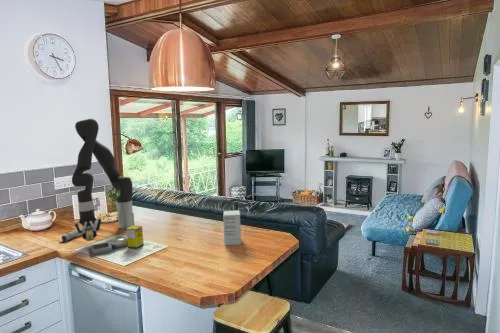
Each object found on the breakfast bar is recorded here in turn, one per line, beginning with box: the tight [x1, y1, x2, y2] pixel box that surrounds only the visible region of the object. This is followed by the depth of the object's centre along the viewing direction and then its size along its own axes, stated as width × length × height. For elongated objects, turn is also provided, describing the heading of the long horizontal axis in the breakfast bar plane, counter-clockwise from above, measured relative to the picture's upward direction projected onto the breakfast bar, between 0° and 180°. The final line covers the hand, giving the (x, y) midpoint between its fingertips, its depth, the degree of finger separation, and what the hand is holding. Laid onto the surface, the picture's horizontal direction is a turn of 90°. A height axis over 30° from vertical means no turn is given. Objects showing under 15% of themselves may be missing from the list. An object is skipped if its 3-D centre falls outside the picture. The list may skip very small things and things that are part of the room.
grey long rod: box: [61, 221, 101, 242], centre depth 206 cm, size 5×7×25 cm
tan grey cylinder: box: [85, 226, 95, 242], centre depth 188 cm, size 4×4×7 cm
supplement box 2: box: [222, 210, 242, 246], centre depth 184 cm, size 10×9×17 cm
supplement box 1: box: [126, 224, 145, 249], centre depth 183 cm, size 6×6×11 cm
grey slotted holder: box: [87, 237, 128, 258], centre depth 180 cm, size 19×12×4 cm, turn 120°
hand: (89, 238), depth 188 cm, fingers closed on tan grey cylinder, 4 cm apart
